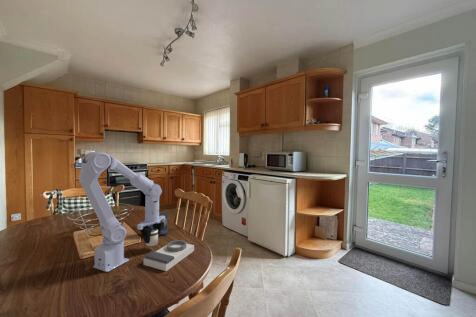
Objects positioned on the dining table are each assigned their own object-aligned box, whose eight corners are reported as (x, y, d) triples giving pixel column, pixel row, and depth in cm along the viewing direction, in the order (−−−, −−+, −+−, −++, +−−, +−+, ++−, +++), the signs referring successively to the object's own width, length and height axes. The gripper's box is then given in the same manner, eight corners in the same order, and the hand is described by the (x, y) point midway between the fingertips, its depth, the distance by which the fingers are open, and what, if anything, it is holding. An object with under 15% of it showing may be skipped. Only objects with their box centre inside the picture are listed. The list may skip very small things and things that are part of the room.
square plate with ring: (166, 271, 79) (166, 260, 79) (143, 264, 83) (143, 254, 83) (194, 250, 96) (194, 241, 96) (174, 246, 100) (174, 237, 100)
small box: (145, 237, 109) (145, 217, 109) (147, 232, 116) (147, 213, 115) (167, 235, 112) (167, 215, 112) (168, 230, 119) (168, 212, 118)
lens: (152, 247, 92) (152, 233, 92) (143, 244, 94) (143, 231, 94) (160, 242, 97) (160, 229, 97) (151, 240, 99) (151, 227, 99)
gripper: (146, 215, 87) (146, 248, 88) (170, 207, 100) (170, 236, 101) (133, 213, 90) (133, 245, 90) (158, 205, 103) (158, 233, 104)
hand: (151, 240), depth 96 cm, fingers closed on lens, 5 cm apart
